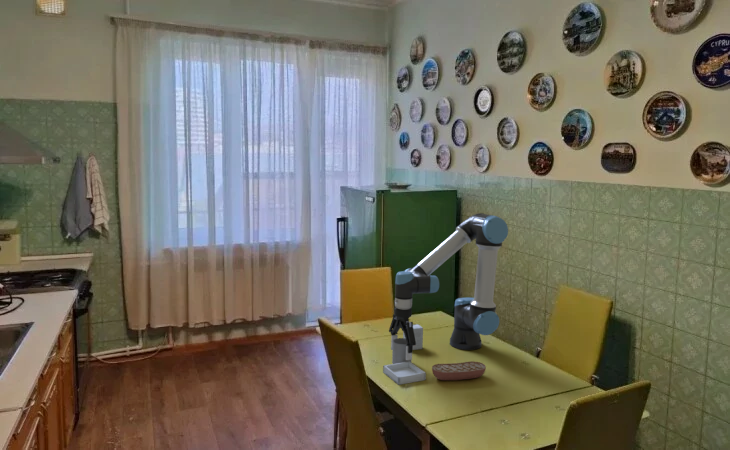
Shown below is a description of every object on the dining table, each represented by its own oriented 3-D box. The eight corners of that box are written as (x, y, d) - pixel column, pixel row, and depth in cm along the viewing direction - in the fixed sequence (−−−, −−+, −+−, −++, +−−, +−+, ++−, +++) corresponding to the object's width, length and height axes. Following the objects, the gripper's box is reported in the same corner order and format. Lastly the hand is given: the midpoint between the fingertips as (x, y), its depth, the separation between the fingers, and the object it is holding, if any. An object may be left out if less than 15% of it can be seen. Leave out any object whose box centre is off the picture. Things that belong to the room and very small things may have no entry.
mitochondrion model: (479, 371, 234) (480, 360, 233) (489, 381, 224) (490, 369, 223) (428, 375, 228) (428, 364, 228) (437, 385, 219) (437, 373, 218)
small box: (418, 345, 265) (418, 324, 263) (422, 349, 259) (423, 327, 258) (402, 346, 262) (403, 325, 261) (407, 350, 257) (407, 329, 256)
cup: (409, 367, 237) (410, 345, 235) (391, 365, 238) (391, 343, 237) (412, 360, 245) (412, 338, 243) (394, 358, 246) (394, 337, 245)
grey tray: (409, 367, 236) (409, 361, 236) (425, 379, 224) (425, 372, 223) (383, 372, 231) (383, 365, 230) (398, 384, 219) (398, 377, 218)
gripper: (382, 300, 248) (380, 346, 250) (409, 315, 225) (407, 365, 228) (397, 299, 251) (395, 344, 254) (425, 314, 229) (423, 363, 231)
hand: (401, 354), depth 241 cm, fingers open, 13 cm apart
